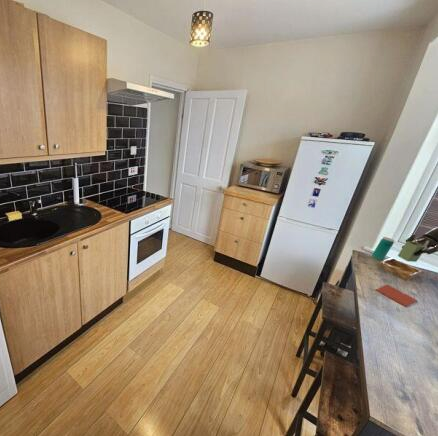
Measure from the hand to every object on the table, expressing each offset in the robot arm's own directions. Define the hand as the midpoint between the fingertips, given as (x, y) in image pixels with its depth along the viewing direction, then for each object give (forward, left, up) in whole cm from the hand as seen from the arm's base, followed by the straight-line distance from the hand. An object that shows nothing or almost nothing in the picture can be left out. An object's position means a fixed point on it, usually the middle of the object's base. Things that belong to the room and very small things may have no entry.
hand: (408, 251), depth 132 cm
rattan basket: (0, -2, -14) cm, 14 cm away
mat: (-11, +29, -14) cm, 34 cm away
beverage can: (+12, -5, -14) cm, 19 cm away
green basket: (-1, -2, -5) cm, 5 cm away
